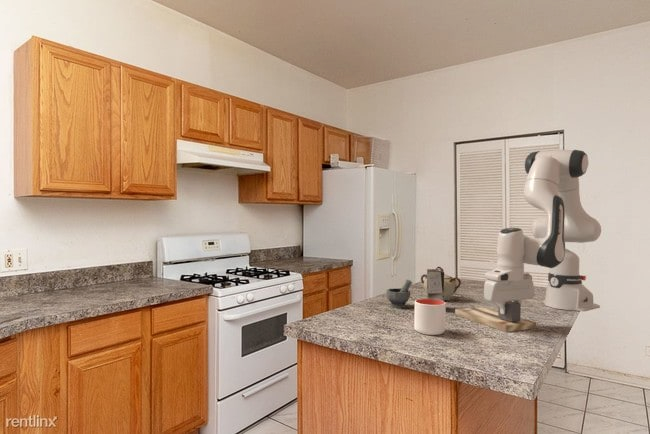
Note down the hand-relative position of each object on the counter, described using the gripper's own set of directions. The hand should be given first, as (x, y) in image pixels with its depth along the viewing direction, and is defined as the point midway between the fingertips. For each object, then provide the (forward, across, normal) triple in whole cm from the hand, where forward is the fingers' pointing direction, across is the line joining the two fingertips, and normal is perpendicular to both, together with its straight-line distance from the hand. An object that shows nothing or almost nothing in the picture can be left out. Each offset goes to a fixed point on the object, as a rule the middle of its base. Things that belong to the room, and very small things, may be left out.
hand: (509, 313), depth 141 cm
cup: (+5, +31, -4) cm, 32 cm away
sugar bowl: (+5, -6, -46) cm, 47 cm away
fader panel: (+5, 0, -7) cm, 9 cm away
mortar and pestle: (+5, +21, -38) cm, 44 cm away
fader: (+2, 0, 0) cm, 2 cm away
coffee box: (+5, +9, -30) cm, 32 cm away
